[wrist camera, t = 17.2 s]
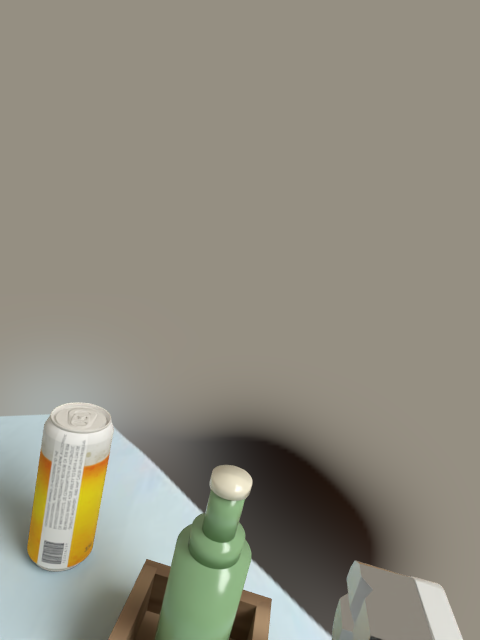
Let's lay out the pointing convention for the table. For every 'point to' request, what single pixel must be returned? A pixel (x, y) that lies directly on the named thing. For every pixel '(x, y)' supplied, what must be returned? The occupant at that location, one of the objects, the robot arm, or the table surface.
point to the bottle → (209, 565)
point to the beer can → (69, 485)
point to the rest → (146, 602)
